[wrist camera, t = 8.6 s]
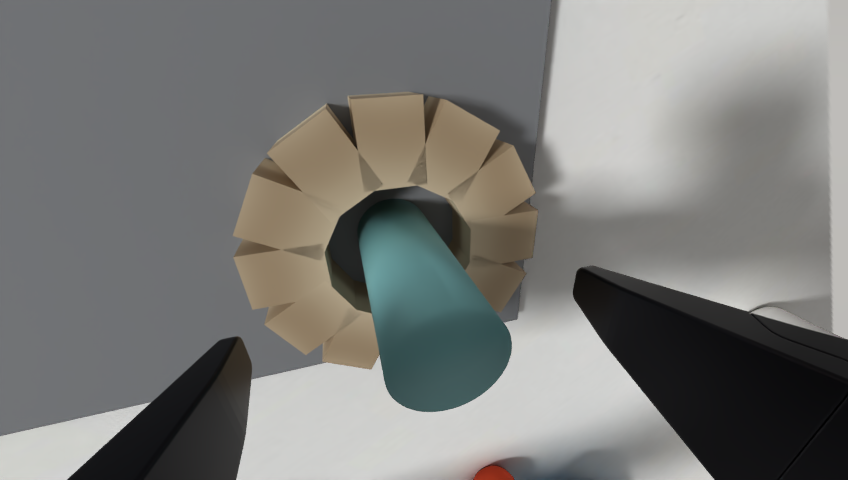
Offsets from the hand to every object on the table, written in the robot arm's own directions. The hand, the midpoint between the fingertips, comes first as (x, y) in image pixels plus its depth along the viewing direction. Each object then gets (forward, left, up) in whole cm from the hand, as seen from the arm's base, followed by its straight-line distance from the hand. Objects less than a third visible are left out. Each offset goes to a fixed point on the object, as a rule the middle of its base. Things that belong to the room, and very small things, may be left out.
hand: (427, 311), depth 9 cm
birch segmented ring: (0, 0, -5) cm, 5 cm away
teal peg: (0, 0, -5) cm, 5 cm away
